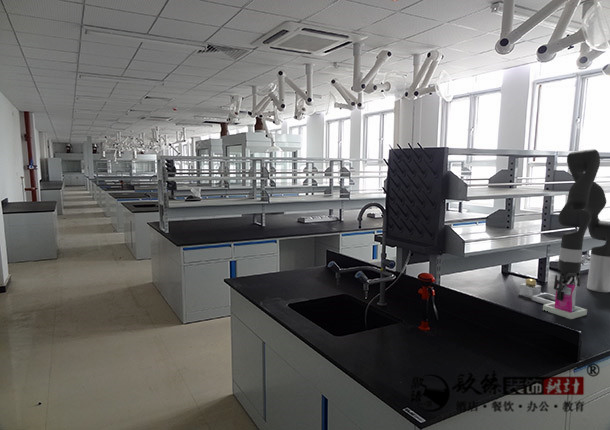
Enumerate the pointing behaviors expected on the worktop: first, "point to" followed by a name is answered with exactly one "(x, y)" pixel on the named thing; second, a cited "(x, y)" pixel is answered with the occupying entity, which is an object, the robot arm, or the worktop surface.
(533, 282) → the yellow knob
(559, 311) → the tray
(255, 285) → the worktop surface
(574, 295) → the supplement box
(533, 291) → the socket block
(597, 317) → the worktop surface
